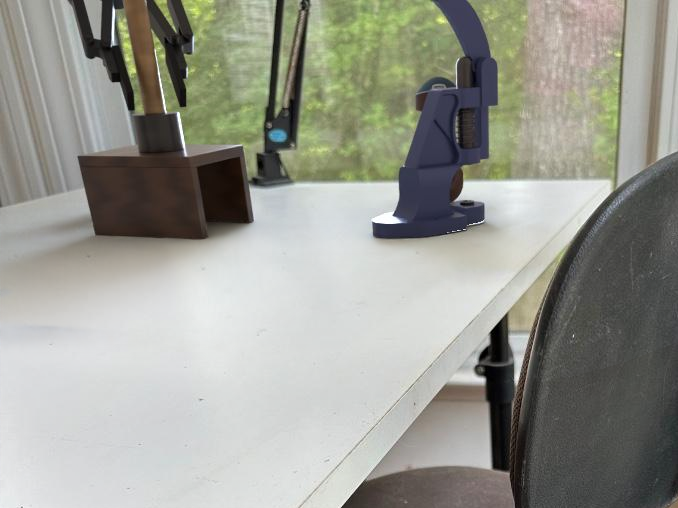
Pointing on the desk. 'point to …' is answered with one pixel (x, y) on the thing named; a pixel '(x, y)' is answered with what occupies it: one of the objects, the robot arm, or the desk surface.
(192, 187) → the shelf
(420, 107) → the headphones
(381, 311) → the desk surface
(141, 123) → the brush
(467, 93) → the hand press
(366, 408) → the desk surface
